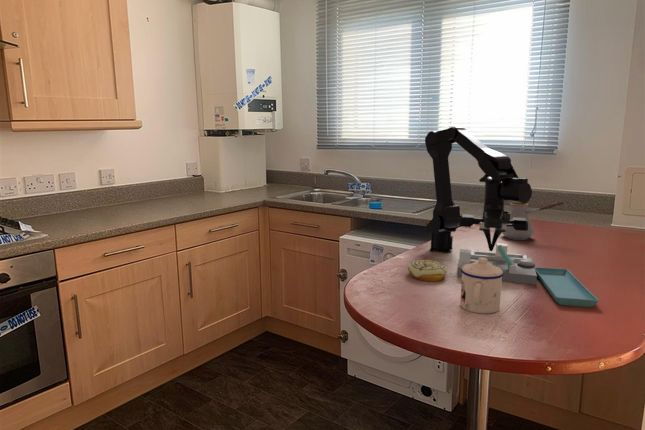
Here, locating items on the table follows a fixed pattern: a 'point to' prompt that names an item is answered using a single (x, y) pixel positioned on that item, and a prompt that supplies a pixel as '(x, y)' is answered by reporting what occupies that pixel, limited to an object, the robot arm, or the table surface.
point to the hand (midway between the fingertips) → (490, 250)
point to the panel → (507, 267)
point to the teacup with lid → (481, 287)
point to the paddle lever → (505, 256)
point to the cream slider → (502, 246)
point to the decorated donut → (427, 270)
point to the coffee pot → (520, 212)
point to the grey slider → (465, 256)
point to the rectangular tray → (565, 287)
